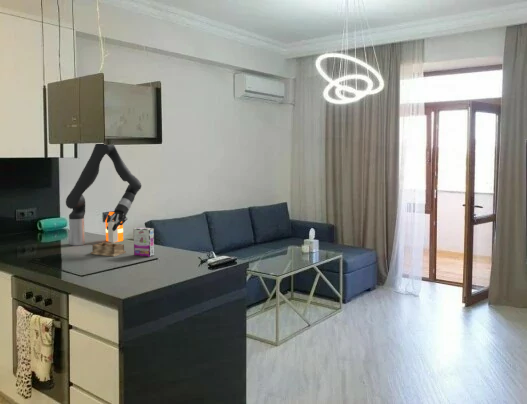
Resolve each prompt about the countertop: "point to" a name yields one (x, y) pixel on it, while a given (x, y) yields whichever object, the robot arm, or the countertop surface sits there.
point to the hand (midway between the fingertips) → (110, 229)
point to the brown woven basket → (108, 249)
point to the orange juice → (120, 230)
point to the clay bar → (112, 232)
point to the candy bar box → (144, 242)
